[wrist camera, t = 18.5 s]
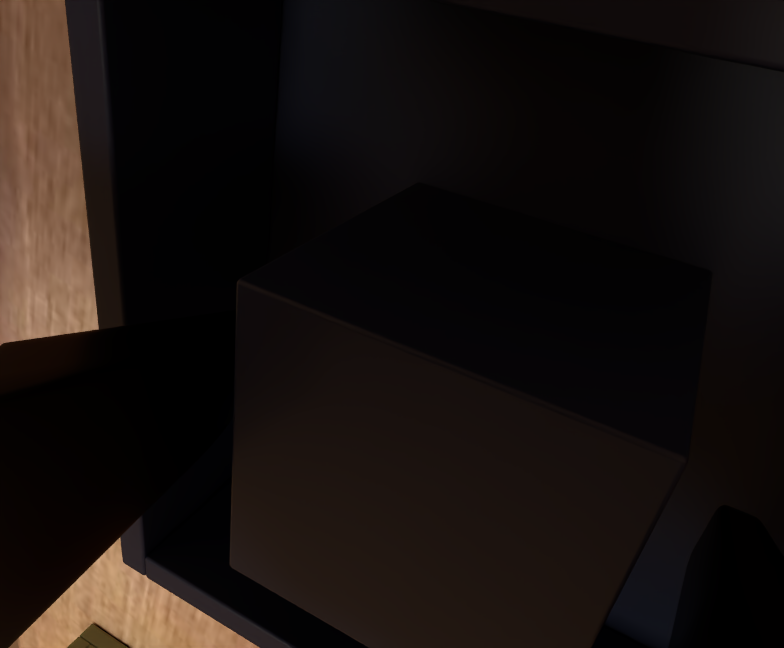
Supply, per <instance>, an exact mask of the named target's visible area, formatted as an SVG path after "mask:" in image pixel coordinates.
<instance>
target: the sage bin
mask: <svg viewBox="0 0 784 648" xmlns="http://www.w3.org/2000/svg"><path fill="white" fill-rule="evenodd" d="M67 648H128V647H126V646H125V645H123V644H122V643H120V642H119V641H117V640H116V639H114V638H113V637H112V636H110V635H109V634H107V633H106V632H104V631H103V630H101V629H100V628H98V627H97V626H95V625H94V624H91V625H90V626H89V627H88V628H87V629H86V630H85V631H84V632H83V633H82V634H81V635H80V637H78V638H77V639H76V640H75V641H74V642H73V643H72V644H70V645H69V646H68V647H67Z"/></svg>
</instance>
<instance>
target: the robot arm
mask: <svg viewBox="0 0 784 648" xmlns="http://www.w3.org/2000/svg"><path fill="white" fill-rule="evenodd" d="M235 331H236V310H231V311H224V312H217V313H210V314H203V315H196V316H189V317H182V318H175V319H168V320H161V321H154V322H147V323H141V324H134V325H127V326H120V327H113V328H106V329H99V330H92V331H85V332H78V333H71V334H64V335H57V336H50V337H43V338H36V339H29V340H22V341H15V342H8V343H3V344H2V345H1V346H0V648H8V647H10V646H11V645H12V644H13V642H14V641H16V640H17V639H18V638H19V637H20V636H21V635H22V634H23V633H24V632H25V631H26V630H27V629H28V628H29V627H30V626H31V625H32V624H33V623H34V622H35V621H36V620H37V619H38V618H39V617H40V616H41V615H42V614H43V613H44V612H45V611H46V610H47V609H48V608H49V607H50V606H51V605H52V604H53V603H54V602H55V601H56V600H57V599H58V598H59V597H60V596H61V595H62V594H63V593H64V592H65V591H66V590H67V589H68V588H69V587H70V586H71V585H72V584H73V583H74V582H75V581H76V580H77V579H78V578H79V577H80V576H81V575H82V574H83V573H84V572H85V571H86V570H87V569H88V568H89V567H90V566H91V565H92V564H93V563H94V562H95V561H96V560H97V559H98V558H99V557H100V556H101V555H102V554H103V553H104V552H105V551H106V550H107V549H108V548H110V547H111V546H112V545H113V544H114V543H115V542H116V541H117V540H118V539H119V538H120V537H121V536H122V535H123V534H124V533H125V532H126V531H127V530H128V529H129V528H130V527H131V526H132V525H133V524H134V523H135V522H136V521H137V520H138V519H139V518H140V517H141V516H142V515H143V514H144V513H145V512H146V511H147V510H148V509H149V508H150V507H151V506H152V505H153V504H154V503H155V502H156V501H157V500H158V499H159V498H160V497H161V496H162V495H163V494H164V493H165V492H166V491H167V490H168V489H169V488H170V487H171V486H172V485H173V484H174V483H175V482H176V481H177V480H178V479H179V478H180V477H181V476H182V475H183V474H184V473H185V472H186V471H187V470H188V469H189V468H190V467H191V466H192V465H193V464H194V463H195V462H196V461H197V460H198V459H199V458H200V457H201V456H202V455H203V454H204V453H205V452H206V451H207V450H208V449H209V448H210V447H211V445H212V444H213V443H214V442H215V441H216V440H217V439H218V437H219V436H220V435H221V434H222V433H223V431H224V430H225V429H226V428H227V426H228V425H229V424H230V423H231V421H232V420H233V409H234V370H235ZM669 648H784V556H783V555H782V553H781V551H780V550H779V548H778V547H777V545H776V544H775V542H774V540H773V539H772V537H771V536H770V534H769V533H768V531H767V529H766V528H765V526H764V525H763V523H762V522H761V521H760V520H759V519H758V518H757V517H755V516H752V515H750V514H748V513H745V512H743V511H740V510H738V509H735V508H733V507H731V506H728V505H722V506H720V507H719V508H718V509H717V510H716V511H715V513H714V515H713V516H712V518H711V520H710V522H709V523H708V525H707V527H706V528H705V530H704V532H703V534H702V535H701V537H700V539H699V541H698V542H697V544H696V546H695V547H694V549H693V551H692V553H691V556H690V558H689V561H688V564H687V568H686V572H685V576H684V581H683V585H682V590H681V594H680V599H679V603H678V608H677V612H676V616H675V621H674V625H673V630H672V634H671V639H670V643H669Z"/></svg>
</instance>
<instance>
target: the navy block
mask: <svg viewBox="0 0 784 648" xmlns="http://www.w3.org/2000/svg"><path fill="white" fill-rule="evenodd" d="M711 283H712V272H710V271H708V270H705V269H701V268H698V267H695V266H692V265H688V264H685V263H682V262H678V261H675V260H672V259H669V258H665V257H662V256H659V255H655V254H652V253H649V252H646V251H642V250H639V249H636V248H633V247H629V246H626V245H623V244H619V243H616V242H613V241H610V240H606V239H603V238H600V237H596V236H593V235H590V234H587V233H583V232H580V231H577V230H573V229H570V228H567V227H564V226H560V225H557V224H554V223H551V222H547V221H544V220H541V219H537V218H534V217H531V216H528V215H524V214H521V213H518V212H514V211H511V210H508V209H505V208H501V207H498V206H495V205H491V204H488V203H485V202H482V201H478V200H475V199H472V198H469V197H465V196H462V195H459V194H455V193H452V192H449V191H446V190H442V189H439V188H436V187H432V186H429V185H426V184H423V183H416V184H414V185H412V186H410V187H408V188H406V189H404V190H403V191H401V192H399V193H397V194H395V195H393V196H392V197H390V198H388V199H386V200H384V201H382V202H380V203H379V204H377V205H375V206H373V207H371V208H369V209H368V210H366V211H364V212H362V213H360V214H358V215H356V216H355V217H353V218H351V219H349V220H347V221H345V222H344V223H342V224H340V225H338V226H336V227H334V228H332V229H331V230H329V231H327V232H325V233H323V234H321V235H319V236H318V237H316V238H314V239H312V240H310V241H308V242H307V243H305V244H303V245H301V246H299V247H297V248H295V249H294V250H292V251H290V252H288V253H286V254H284V255H283V256H281V257H279V258H277V259H275V260H273V261H271V262H270V263H268V264H266V265H264V266H262V267H260V268H259V269H257V270H255V271H253V272H251V273H249V274H247V275H246V276H244V277H242V278H240V279H239V280H238V282H237V291H236V331H235V370H234V409H233V449H232V488H231V527H230V566H231V567H232V568H233V569H235V570H237V571H238V572H240V573H242V574H243V575H245V576H247V577H249V578H250V579H252V580H254V581H255V582H257V583H259V584H261V585H262V586H264V587H266V588H267V589H269V590H271V591H273V592H274V593H276V594H278V595H279V596H281V597H283V598H285V599H286V600H288V601H290V602H291V603H293V604H295V605H297V606H298V607H300V608H302V609H304V610H305V611H307V612H309V613H310V614H312V615H314V616H316V617H317V618H319V619H321V620H322V621H324V622H326V623H328V624H329V625H331V626H333V627H334V628H336V629H338V630H340V631H341V632H343V633H345V634H346V635H348V636H350V637H352V638H353V639H355V640H357V641H358V642H360V643H362V644H364V645H365V646H367V647H369V648H592V647H593V645H594V643H595V641H596V639H597V637H598V635H599V633H600V631H601V629H602V627H603V625H604V623H605V622H606V620H607V618H608V616H609V614H610V612H611V610H612V608H613V606H614V604H615V602H616V600H617V598H618V597H619V595H620V593H621V591H622V589H623V587H624V585H625V583H626V581H627V579H628V577H629V575H630V573H631V572H632V570H633V568H634V566H635V564H636V562H637V560H638V558H639V556H640V554H641V552H642V550H643V548H644V546H645V545H646V543H647V541H648V539H649V537H650V535H651V533H652V531H653V529H654V527H655V525H656V523H657V521H658V520H659V518H660V516H661V514H662V512H663V510H664V508H665V506H666V504H667V502H668V500H669V498H670V496H671V495H672V493H673V491H674V489H675V487H676V485H677V483H678V481H679V479H680V477H681V475H682V473H683V471H684V469H685V468H686V466H687V464H688V459H689V452H690V444H691V436H692V429H693V421H694V413H695V406H696V398H697V390H698V383H699V375H700V368H701V360H702V352H703V345H704V337H705V329H706V322H707V314H708V306H709V299H710V291H711Z"/></svg>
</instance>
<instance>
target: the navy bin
mask: <svg viewBox="0 0 784 648" xmlns="http://www.w3.org/2000/svg"><path fill="white" fill-rule="evenodd" d="M65 6H66V16H67V25H68V35H69V45H70V54H71V64H72V74H73V83H74V93H75V103H76V112H77V122H78V132H79V141H80V151H81V161H82V170H83V180H84V190H85V199H86V209H87V219H88V228H89V238H90V248H91V257H92V267H93V277H94V286H95V296H96V306H97V315H98V325H99V329H106V328H113V327H120V326H127V325H134V324H141V323H147V322H154V321H161V320H168V319H175V318H182V317H189V316H196V315H203V314H210V313H217V312H224V311H231V310H236V291H237V282H238V280H239V279H240V278H242V277H244V276H246V275H247V274H249V273H251V272H253V271H255V270H257V269H259V268H260V267H262V266H264V265H266V264H268V263H270V262H271V261H273V260H275V259H277V258H279V257H281V256H283V255H284V254H286V253H288V252H290V251H292V250H294V249H295V248H297V247H299V246H301V245H303V244H305V243H307V242H308V241H310V240H312V239H314V238H316V237H318V236H319V235H321V234H323V233H325V232H327V231H329V230H331V229H332V228H334V227H336V226H338V225H340V224H342V223H344V222H345V221H347V220H349V219H351V218H353V217H355V216H356V215H358V214H360V213H362V212H364V211H366V210H368V209H369V208H371V207H373V206H375V205H377V204H379V203H380V202H382V201H384V200H386V199H388V198H390V197H392V196H393V195H395V194H397V193H399V192H401V191H403V190H404V189H406V188H408V187H410V186H412V185H414V184H416V183H423V184H426V185H429V186H432V187H436V188H439V189H442V190H446V191H449V192H452V193H455V194H459V195H462V196H465V197H469V198H472V199H475V200H478V201H482V202H485V203H488V204H491V205H495V206H498V207H501V208H505V209H508V210H511V211H514V212H518V213H521V214H524V215H528V216H531V217H534V218H537V219H541V220H544V221H547V222H551V223H554V224H557V225H560V226H564V227H567V228H570V229H573V230H577V231H580V232H583V233H587V234H590V235H593V236H596V237H600V238H603V239H606V240H610V241H613V242H616V243H619V244H623V245H626V246H629V247H633V248H636V249H639V250H642V251H646V252H649V253H652V254H655V255H659V256H662V257H665V258H669V259H672V260H675V261H678V262H682V263H685V264H688V265H692V266H695V267H698V268H701V269H705V270H708V271H710V272H712V283H711V291H710V299H709V306H708V314H707V322H706V329H705V337H704V345H703V352H702V360H701V368H700V375H699V383H698V390H697V398H696V406H695V413H694V421H693V429H692V436H691V444H690V452H689V459H688V464H687V466H686V468H685V469H684V471H683V473H682V475H681V477H680V479H679V481H678V483H677V485H676V487H675V489H674V491H673V493H672V495H671V496H670V498H669V500H668V502H667V504H666V506H665V508H664V510H663V512H662V514H661V516H660V518H659V520H658V521H657V523H656V525H655V527H654V529H653V531H652V533H651V535H650V537H649V539H648V541H647V543H646V545H645V546H644V548H643V550H642V552H641V554H640V556H639V558H638V560H637V562H636V564H635V566H634V568H633V570H632V572H631V573H630V575H629V577H628V579H627V581H626V583H625V585H624V587H623V589H622V591H621V593H620V595H619V597H618V598H617V600H616V602H615V604H614V606H613V608H612V610H611V612H610V614H609V616H608V618H607V620H606V622H605V623H604V625H603V627H602V629H601V631H600V633H599V635H598V637H597V639H596V641H595V643H594V645H593V647H592V648H669V643H670V639H671V634H672V630H673V625H674V621H675V616H676V612H677V608H678V603H679V599H680V594H681V590H682V585H683V581H684V576H685V572H686V568H687V564H688V561H689V558H690V556H691V553H692V551H693V549H694V547H695V546H696V544H697V542H698V541H699V539H700V537H701V535H702V534H703V532H704V530H705V528H706V527H707V525H708V523H709V522H710V520H711V518H712V516H713V515H714V513H715V511H716V510H717V509H718V508H719V507H720V506H722V505H728V506H731V507H733V508H735V509H738V510H740V511H743V512H745V513H748V514H750V515H752V516H755V517H757V518H758V519H759V520H760V521H761V522H762V523H763V525H764V526H765V528H766V529H767V531H768V533H769V534H770V536H771V537H772V539H773V540H774V542H775V544H776V545H777V547H778V548H779V550H780V551H781V553H782V555H783V556H784V0H65ZM232 449H233V420H232V421H231V423H230V424H229V425H228V426H227V428H226V429H225V430H224V431H223V433H222V434H221V435H220V436H219V437H218V439H217V440H216V441H215V442H214V443H213V444H212V445H211V447H210V448H209V449H208V450H207V451H206V452H205V453H204V454H203V455H202V456H201V457H200V458H199V459H198V460H197V461H196V462H195V463H194V464H193V465H192V466H191V467H190V468H189V469H188V470H187V471H186V472H185V473H184V474H183V475H182V476H181V477H180V478H179V479H178V480H177V481H176V482H175V483H174V484H173V485H172V486H171V487H170V488H169V489H168V490H167V491H166V492H165V493H164V494H163V495H162V496H161V497H160V498H159V499H158V500H157V501H156V502H155V503H154V504H153V505H152V506H151V507H150V508H149V509H148V510H147V511H146V512H145V513H144V514H143V515H142V516H141V517H140V518H139V519H138V520H137V521H136V522H135V523H134V524H133V525H132V526H131V527H130V528H129V529H128V530H127V531H126V532H125V533H124V534H123V535H122V536H121V537H120V538H121V547H122V557H123V562H124V563H125V564H126V565H128V566H130V567H131V568H133V569H134V570H136V571H138V572H139V573H141V574H142V575H146V576H147V577H148V578H149V579H150V580H152V581H154V582H155V583H157V584H159V585H160V586H162V587H163V588H165V589H167V590H168V591H170V592H171V593H173V594H175V595H176V596H178V597H179V598H181V599H183V600H184V601H186V602H187V603H189V604H191V605H192V606H194V607H196V608H197V609H199V610H200V611H202V612H204V613H205V614H207V615H208V616H210V617H212V618H213V619H215V620H216V621H218V622H220V623H221V624H223V625H224V626H226V627H228V628H229V629H231V630H233V631H234V632H236V633H237V634H239V635H241V636H242V637H244V638H245V639H247V640H249V641H250V642H252V643H253V644H255V645H257V646H258V647H260V648H369V647H367V646H365V645H364V644H362V643H360V642H358V641H357V640H355V639H353V638H352V637H350V636H348V635H346V634H345V633H343V632H341V631H340V630H338V629H336V628H334V627H333V626H331V625H329V624H328V623H326V622H324V621H322V620H321V619H319V618H317V617H316V616H314V615H312V614H310V613H309V612H307V611H305V610H304V609H302V608H300V607H298V606H297V605H295V604H293V603H291V602H290V601H288V600H286V599H285V598H283V597H281V596H279V595H278V594H276V593H274V592H273V591H271V590H269V589H267V588H266V587H264V586H262V585H261V584H259V583H257V582H255V581H254V580H252V579H250V578H249V577H247V576H245V575H243V574H242V573H240V572H238V571H237V570H235V569H233V568H232V567H231V566H230V527H231V488H232Z"/></svg>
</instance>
